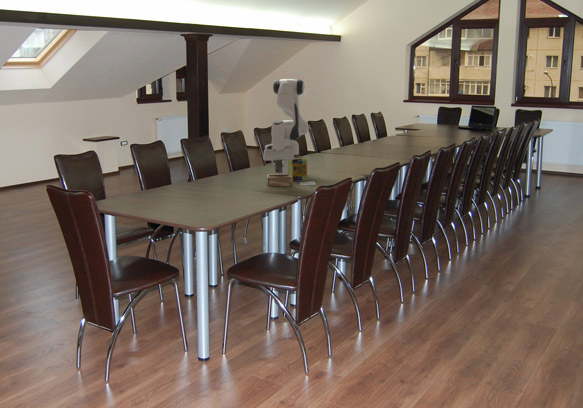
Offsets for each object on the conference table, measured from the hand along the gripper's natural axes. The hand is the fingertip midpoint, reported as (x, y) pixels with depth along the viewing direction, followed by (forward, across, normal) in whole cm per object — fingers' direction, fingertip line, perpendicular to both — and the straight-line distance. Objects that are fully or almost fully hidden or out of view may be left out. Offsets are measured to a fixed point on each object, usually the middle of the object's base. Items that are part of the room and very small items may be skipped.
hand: (278, 167), depth 426 cm
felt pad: (+12, -19, 0) cm, 23 cm away
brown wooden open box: (+12, 0, 0) cm, 12 cm away
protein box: (+13, -14, -18) cm, 26 cm away
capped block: (+3, 0, 0) cm, 3 cm away
